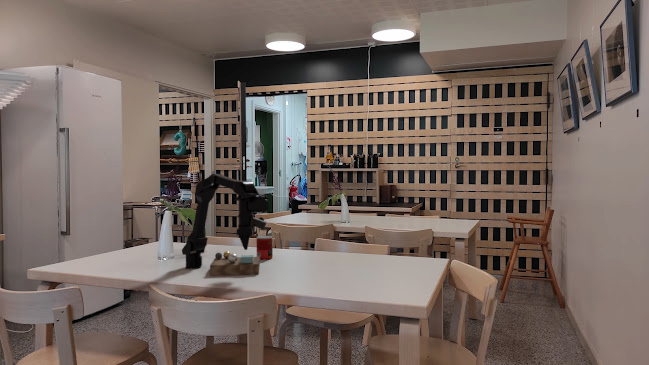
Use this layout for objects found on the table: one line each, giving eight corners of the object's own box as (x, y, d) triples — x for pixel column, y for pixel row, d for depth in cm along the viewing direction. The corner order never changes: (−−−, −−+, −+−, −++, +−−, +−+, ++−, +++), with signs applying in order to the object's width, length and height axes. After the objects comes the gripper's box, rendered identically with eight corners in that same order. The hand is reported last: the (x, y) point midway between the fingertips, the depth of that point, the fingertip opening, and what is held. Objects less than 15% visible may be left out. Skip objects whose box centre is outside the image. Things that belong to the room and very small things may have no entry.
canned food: (271, 260, 229) (271, 237, 229) (255, 260, 230) (255, 237, 229) (273, 257, 237) (273, 235, 237) (257, 257, 237) (257, 235, 237)
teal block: (240, 263, 196) (240, 257, 196) (241, 261, 201) (241, 255, 201) (252, 262, 196) (252, 257, 196) (253, 260, 201) (253, 255, 201)
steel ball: (227, 264, 196) (227, 254, 196) (228, 262, 200) (228, 253, 200) (237, 263, 196) (237, 254, 196) (237, 262, 200) (237, 252, 200)
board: (210, 275, 193) (210, 265, 193) (215, 267, 211) (215, 257, 211) (258, 274, 195) (258, 264, 195) (259, 266, 213) (259, 256, 213)
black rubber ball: (214, 260, 205) (214, 253, 205) (215, 258, 208) (215, 252, 208) (221, 259, 206) (221, 253, 206) (222, 258, 209) (222, 251, 209)
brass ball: (223, 259, 207) (222, 252, 207) (223, 258, 210) (223, 250, 210) (230, 259, 208) (230, 251, 208) (230, 257, 211) (230, 250, 211)
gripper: (265, 213, 183) (265, 253, 183) (265, 210, 201) (265, 245, 201) (236, 213, 181) (236, 253, 182) (239, 210, 200) (239, 246, 200)
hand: (245, 249), depth 191 cm, fingers closed
